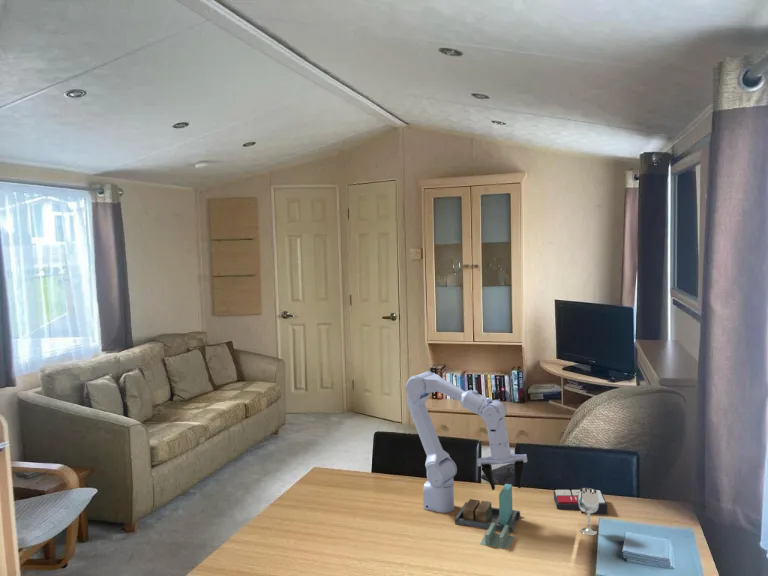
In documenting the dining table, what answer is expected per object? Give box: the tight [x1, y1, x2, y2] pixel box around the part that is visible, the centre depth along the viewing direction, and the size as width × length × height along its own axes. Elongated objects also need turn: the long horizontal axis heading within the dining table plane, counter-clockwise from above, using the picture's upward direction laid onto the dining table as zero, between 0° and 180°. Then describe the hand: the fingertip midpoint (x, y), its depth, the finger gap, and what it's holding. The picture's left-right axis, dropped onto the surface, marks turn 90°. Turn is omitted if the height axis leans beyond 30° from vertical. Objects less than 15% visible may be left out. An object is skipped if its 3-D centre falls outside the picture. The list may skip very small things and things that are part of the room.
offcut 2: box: [475, 500, 493, 522], centre depth 181 cm, size 3×8×4 cm, turn 157°
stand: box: [479, 523, 515, 550], centre depth 167 cm, size 8×8×4 cm
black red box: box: [553, 489, 608, 516], centre depth 191 cm, size 11×4×15 cm
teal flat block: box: [498, 483, 514, 525], centre depth 178 cm, size 2×9×10 cm, turn 157°
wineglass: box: [578, 487, 599, 536], centre depth 173 cm, size 6×6×12 cm
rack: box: [454, 501, 521, 534], centre depth 181 cm, size 17×12×3 cm
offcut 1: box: [463, 498, 481, 520], centre depth 183 cm, size 3×8×4 cm, turn 157°
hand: (506, 488), depth 178 cm, fingers open, 7 cm apart
